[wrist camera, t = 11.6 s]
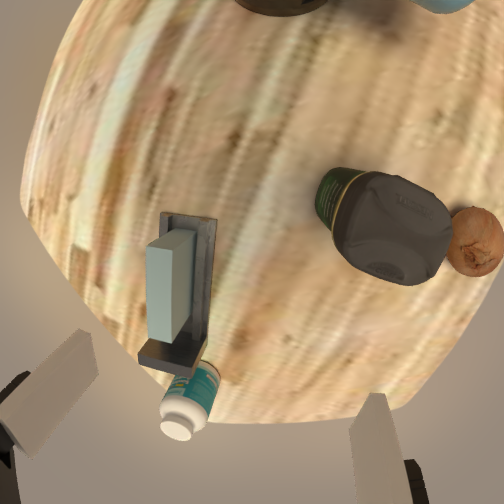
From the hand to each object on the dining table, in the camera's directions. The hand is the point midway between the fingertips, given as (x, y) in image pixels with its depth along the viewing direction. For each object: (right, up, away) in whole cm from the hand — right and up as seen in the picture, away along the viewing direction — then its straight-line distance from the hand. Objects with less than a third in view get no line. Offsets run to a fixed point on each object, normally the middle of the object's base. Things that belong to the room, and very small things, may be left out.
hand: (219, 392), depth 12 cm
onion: (+32, +9, +23) cm, 40 cm away
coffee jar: (+14, +13, +24) cm, 31 cm away
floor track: (-8, +2, +30) cm, 31 cm away
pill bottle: (-8, -15, +35) cm, 39 cm away
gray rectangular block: (-8, +4, +29) cm, 30 cm away
